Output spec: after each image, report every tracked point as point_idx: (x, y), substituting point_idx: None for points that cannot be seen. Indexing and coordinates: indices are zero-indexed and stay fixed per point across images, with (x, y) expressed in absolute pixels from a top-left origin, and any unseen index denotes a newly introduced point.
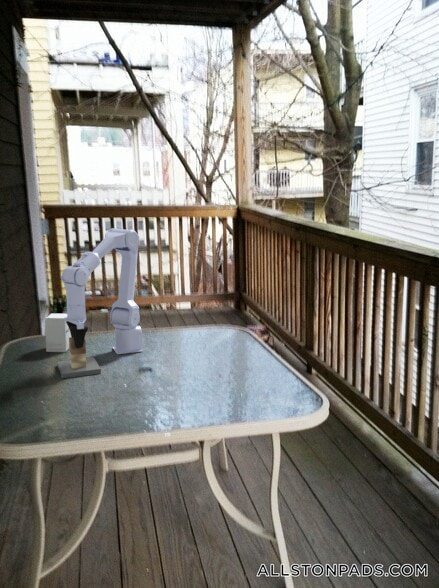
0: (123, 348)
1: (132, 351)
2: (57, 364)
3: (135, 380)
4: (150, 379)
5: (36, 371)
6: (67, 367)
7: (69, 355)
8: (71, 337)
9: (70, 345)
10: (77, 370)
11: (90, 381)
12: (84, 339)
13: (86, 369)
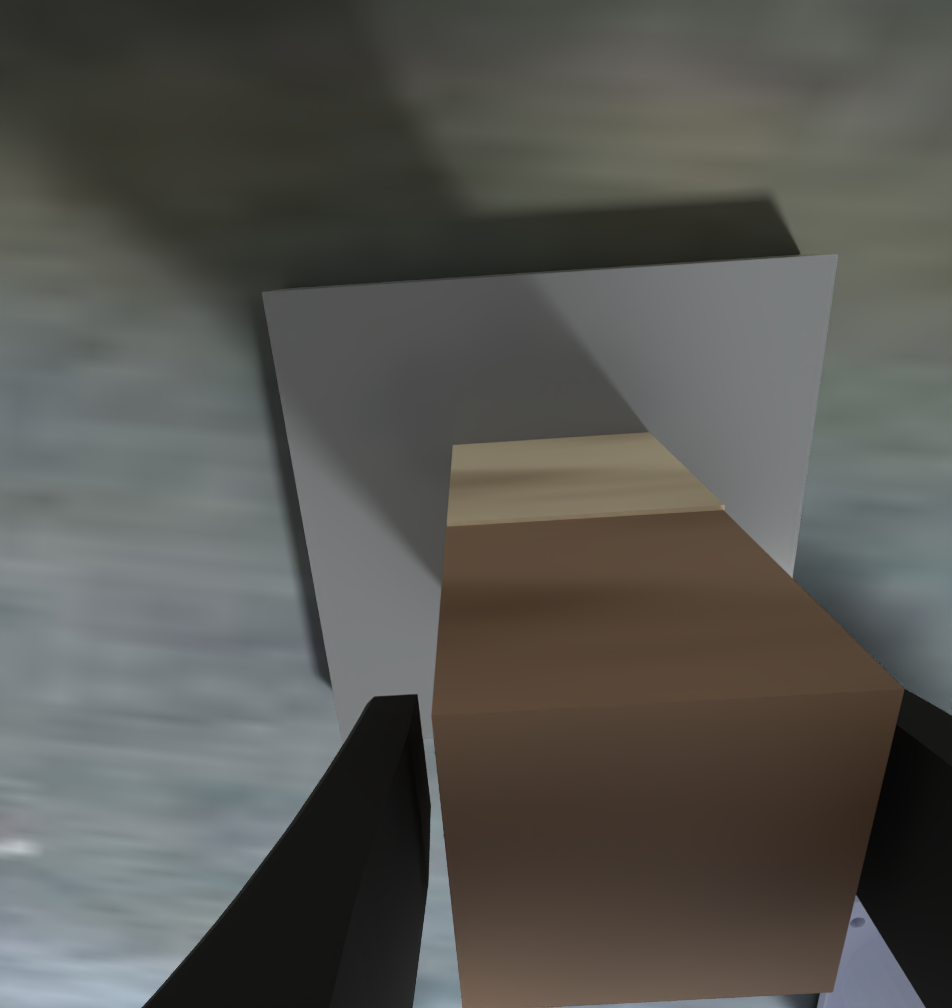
0: (880, 989)
1: (826, 1006)
2: (783, 256)
3: (108, 919)
4: (118, 1002)
5: None
6: (508, 389)
7: (687, 474)
8: (873, 754)
9: (569, 607)
10: (352, 505)
11: (127, 591)
12: (516, 999)
13: (362, 607)
